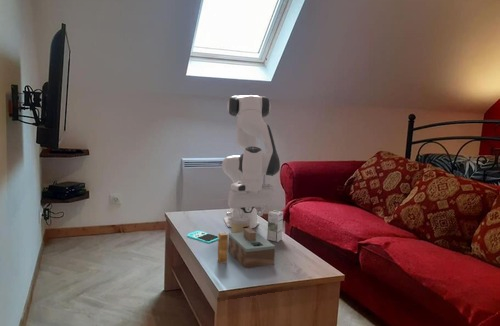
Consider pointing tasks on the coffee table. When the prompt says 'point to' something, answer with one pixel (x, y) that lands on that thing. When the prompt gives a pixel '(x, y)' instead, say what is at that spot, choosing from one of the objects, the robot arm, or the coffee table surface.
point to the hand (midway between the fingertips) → (250, 216)
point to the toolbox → (251, 256)
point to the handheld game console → (203, 236)
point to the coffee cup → (239, 224)
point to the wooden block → (222, 247)
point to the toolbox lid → (251, 240)
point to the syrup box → (275, 225)
